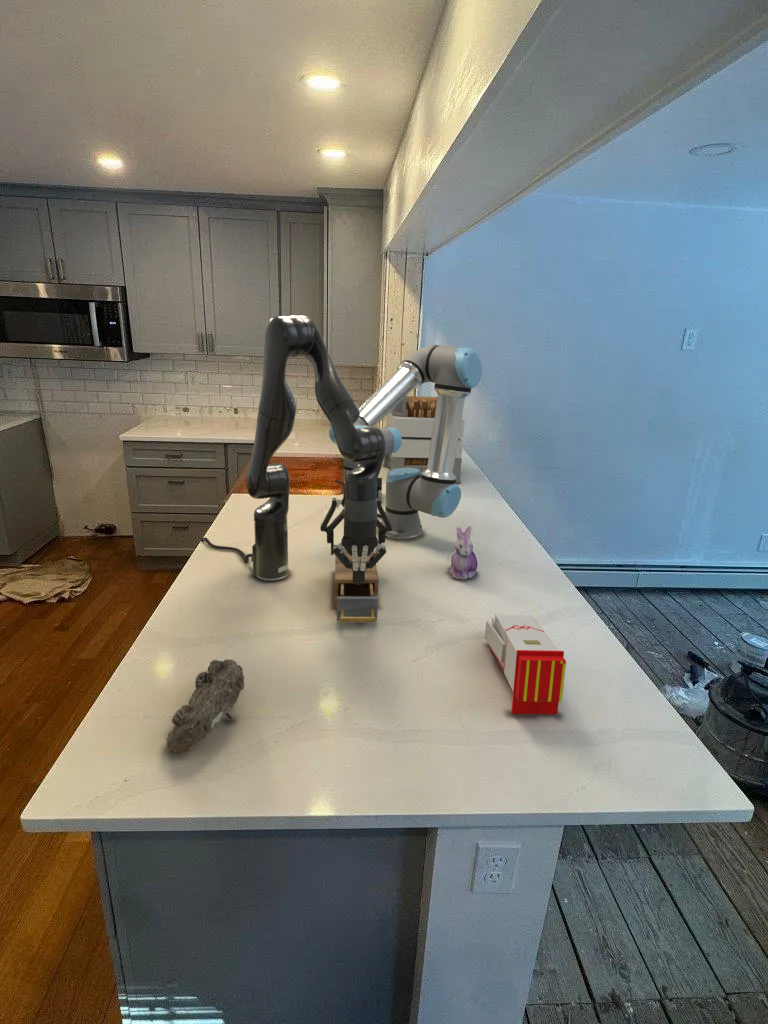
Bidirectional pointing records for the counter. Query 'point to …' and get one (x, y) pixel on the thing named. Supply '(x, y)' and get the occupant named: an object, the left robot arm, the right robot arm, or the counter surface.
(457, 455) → the white crate
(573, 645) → the counter surface
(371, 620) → the drawer
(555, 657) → the toy
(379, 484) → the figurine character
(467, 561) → the figurine
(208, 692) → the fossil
